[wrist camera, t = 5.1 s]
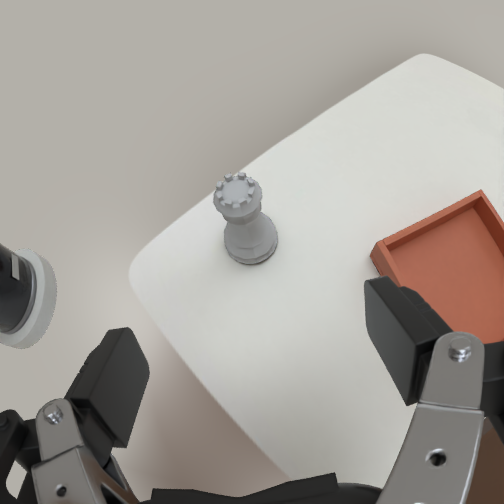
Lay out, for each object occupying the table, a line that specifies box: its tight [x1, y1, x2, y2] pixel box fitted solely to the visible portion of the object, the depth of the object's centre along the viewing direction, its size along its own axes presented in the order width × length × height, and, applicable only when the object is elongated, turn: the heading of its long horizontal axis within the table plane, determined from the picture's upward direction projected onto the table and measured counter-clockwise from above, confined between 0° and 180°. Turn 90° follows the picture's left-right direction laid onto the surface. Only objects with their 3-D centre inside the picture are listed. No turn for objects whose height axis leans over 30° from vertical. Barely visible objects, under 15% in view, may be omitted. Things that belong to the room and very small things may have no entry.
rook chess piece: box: [213, 172, 278, 264], centre depth 23 cm, size 4×4×8 cm
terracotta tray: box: [370, 190, 504, 344], centre depth 21 cm, size 13×13×3 cm
